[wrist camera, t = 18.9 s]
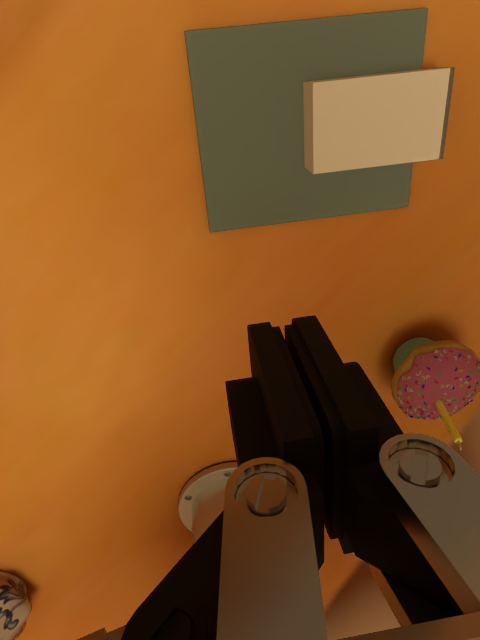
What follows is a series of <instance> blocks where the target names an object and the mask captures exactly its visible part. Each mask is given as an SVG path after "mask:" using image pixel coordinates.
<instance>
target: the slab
mask: <svg viewBox="0 0 480 640" xmlns="http://www.w3.org/2000/svg"><path fill="white" fill-rule="evenodd" d="M454 69H455V68H429V69H420V70H410V71H401V72H392V73H382V74H373V75H364V76H354V77H345V78H336V79H326V80H317V81H308V82H303V104H304V163H305V168H306V169H307V170H308V171H310V172H311V173H313V174H320V173H328V172H336V171H344V170H352V169H361V168H369V167H377V166H385V165H393V164H402V163H410V162H418V161H426V160H434V159H442V158H443V153H444V145H445V138H446V130H447V122H448V115H449V107H450V99H451V92H452V84H453V76H454Z"/></svg>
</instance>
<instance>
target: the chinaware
mask: <svg viewBox="0 0 480 640" xmlns="http://www.w3.org/2000/svg"><path fill="white" fill-rule="evenodd" d="M31 609H32V603H31V601H30V599H29V597H28V596H27V586H26V584H25V582H24V581H23V580H22V579H21V578H19V577H18V576H16V575H14V574H12V573H9V572H5V571H0V640H15V639H16V638H17V637H18V636H19V635H20V634H21V632H22V631H23V630H24V628H25V625H26V620H27V617H28V615H29V614H30V612H31Z"/></svg>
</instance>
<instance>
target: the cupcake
mask: <svg viewBox="0 0 480 640" xmlns="http://www.w3.org/2000/svg"><path fill="white" fill-rule="evenodd" d="M393 367H394V371H395V373H394V375H393V377H392V381H391V388H392V395H393V398H394V399H395V401H396V403H397V404H398V406H399V408H401V409H402V411H403V412H404V413H405V414H406V416H407V417H409V416H410V417H411V418H413V417H414V418H416V419H418V418H419V419H420V418H422V419H425V420H428V419H433V420H436V419H439V418H442V419H443V421H444V423H445V425H446V427H447V429H448V431H449V433H450V435H451V436H452V438H453V440H454V442H455V443H458V446H459V449H460V450H462V446H461V444H460V443H461V442H462V438H461V436H460V434H459V432H458V431H457V429H456V427H455V425H454V423H453V421H452V419H451V417H450V416H452V415H453V414H455V413H456V412H458V411H460V410H461V409H462V408H464V407H465V406H466V405H468V404H469V402H471V401H473V398H474V396H475V395H476V394H477V392H479V390H480V389H479V388H480V361H479V359H478V357H477V355H476V354H475V353H474V352H473V351H472V350H470V349H469V348H467V347H466V346H464V345H462V344H461V343H459V342H458V341H456V340H439V341H433V340H431V339H429V338H425V337H417V338H413V339H410V340H408V341H406V342H405V343H403V344H402V345H401V346H400V347H399V348H398V349H397V350H396V352H395V354H394V357H393Z"/></svg>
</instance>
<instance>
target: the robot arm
mask: <svg viewBox="0 0 480 640" xmlns="http://www.w3.org/2000/svg"><path fill="white" fill-rule="evenodd" d="M247 330H248V341H249V352H250V362H251V373H252V377H251V378H245V379H238V380H231V381H225V383H226V392H227V399H228V407H229V414H230V421H231V428H232V434H233V441H234V447H235V453H236V459H237V462H229V463H222V464H219V465H215V466H212V467H210V468H207V469H205V470H203V471H201V472H200V473H198V474H196V475H195V476H194V477H193V478H191V479H190V480H189V481H188V482H187V483H186V485H185V486H184V487H183V489H182V491H181V493H180V495H179V500H178V513H179V517H180V520H181V521H182V523H183V525H184V526H185V527H186V528H187V529H188V530H190V531H191V532H193V546H192V547H191V548H190V549H189V550H188V551H187V552H186V554H185V555H184V556H183V557H182V558H181V559H180V560H179V562H178V563H177V564H176V565H175V566H174V567H173V568H172V570H171V571H170V572H169V573H168V574H167V575H166V577H165V578H164V579H163V580H162V581H161V582H160V583H159V585H158V586H157V587H156V588H155V589H154V590H153V591H152V593H151V594H150V595H149V596H148V597H147V598H146V599H145V601H144V602H143V603H142V604H141V605H140V606H139V607H138V609H137V610H136V611H135V613H134V614H133V616H132V617H131V618H130V620H129V621H128V623H127V624H126V625H124V626H122V627H119V628H117V629H115V630H113V631H110V632H108V633H107V632H106V630H105V627H104V628H102V629H100V630H98V631H95V632H93V633H91V634H88V635H86V636H84V637H82V638H79V639H77V640H328V638H327V630H326V623H325V616H324V608H323V601H322V594H321V586H320V579H319V572H318V571H319V569H320V567H321V566H322V564H323V562H324V524H325V527H326V530H327V533H328V535H329V537H330V539H335V538H338V539H339V542H340V544H341V547H342V550H343V553H344V554H347V553H352V552H354V553H355V555H356V556H357V557H359V558H360V559H362V560H364V561H366V562H367V563H369V564H370V569H371V572H372V575H373V577H374V580H375V581H376V583H377V585H378V587H379V589H380V590H381V592H382V594H383V596H384V598H385V599H386V601H387V603H388V605H389V606H390V608H391V610H392V612H393V614H394V616H395V617H396V619H397V621H398V623H399V624H400V626H401V627H399V628H394V629H389V630H384V631H379V632H374V633H369V634H363V635H358V636H353V637H348V638H343V639H338V640H480V476H479V475H478V474H477V473H476V472H475V471H474V470H473V469H472V468H471V467H470V466H469V465H468V464H467V463H466V462H465V461H464V460H463V459H462V458H461V457H460V456H459V455H458V454H457V453H456V451H454V450H453V449H452V448H451V447H449V446H448V445H447V444H446V443H444V442H442V441H440V440H438V439H436V438H434V437H430V436H427V435H423V434H414V433H407V434H403V432H402V431H401V429H400V428H399V426H398V424H397V423H396V421H395V420H394V418H393V417H392V415H391V413H390V412H389V410H388V409H387V407H386V406H385V404H384V402H383V401H382V399H381V398H380V396H379V395H378V393H377V391H376V390H375V388H374V387H373V385H372V384H371V382H370V380H369V379H368V377H367V376H366V374H365V373H364V371H363V369H362V368H361V366H360V365H359V364H358V363H357V362H349V363H343V362H342V360H341V359H340V357H339V355H338V353H337V352H336V350H335V348H334V347H333V345H332V343H331V341H330V340H329V338H328V336H327V335H326V333H325V331H324V329H323V328H322V326H321V324H320V323H319V321H318V319H317V317H316V316H307V317H300V318H293V319H292V324H291V325H285V339H284V337H283V334H282V332H281V330H280V327H279V326H278V327H272V326H271V324H270V322H265V323H258V324H251V325H248V326H247Z"/></svg>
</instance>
